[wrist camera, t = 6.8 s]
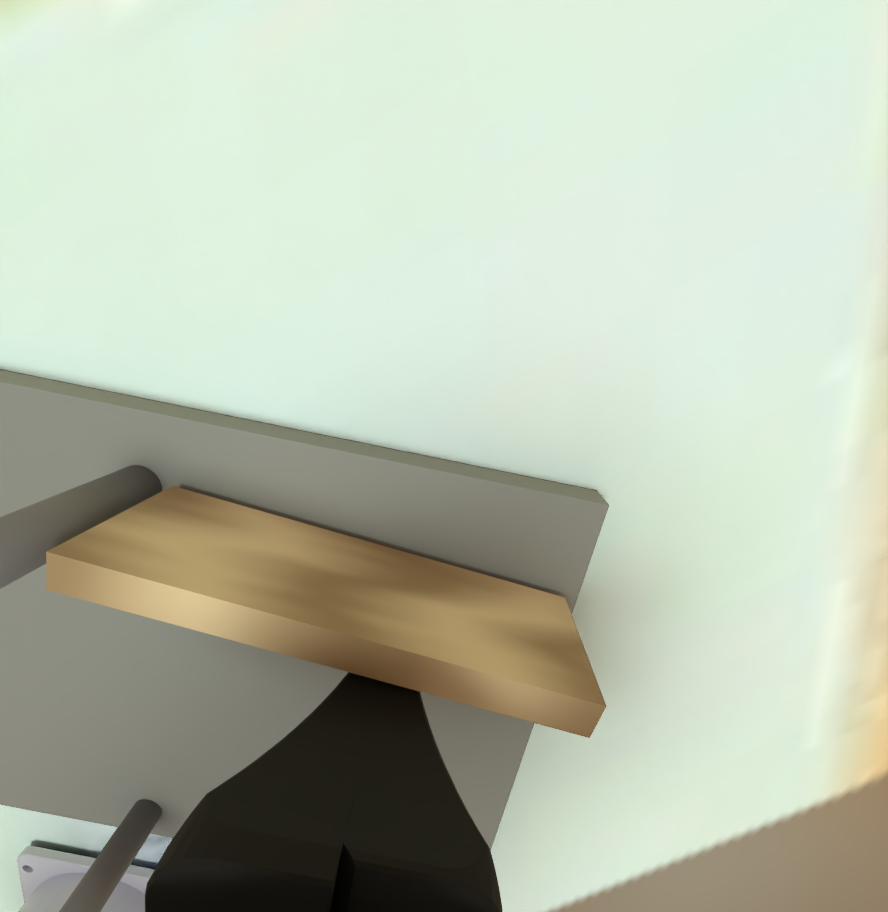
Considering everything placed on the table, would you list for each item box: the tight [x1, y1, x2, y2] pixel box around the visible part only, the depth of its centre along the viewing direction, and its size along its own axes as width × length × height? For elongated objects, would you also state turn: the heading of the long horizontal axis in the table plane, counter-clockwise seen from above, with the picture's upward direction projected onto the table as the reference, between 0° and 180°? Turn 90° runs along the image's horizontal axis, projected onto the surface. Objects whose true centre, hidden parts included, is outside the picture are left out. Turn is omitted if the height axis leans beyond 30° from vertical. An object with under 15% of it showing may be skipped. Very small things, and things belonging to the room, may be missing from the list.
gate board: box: [0, 370, 609, 912], centre depth 13 cm, size 19×25×6 cm
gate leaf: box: [46, 486, 606, 738], centre depth 11 cm, size 13×1×4 cm, turn 74°
